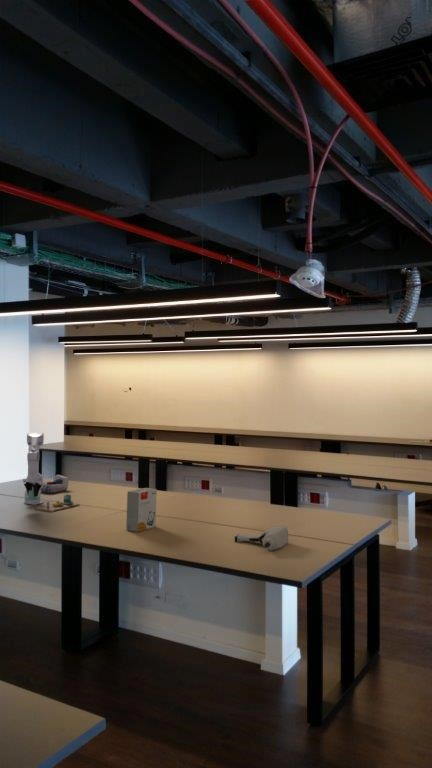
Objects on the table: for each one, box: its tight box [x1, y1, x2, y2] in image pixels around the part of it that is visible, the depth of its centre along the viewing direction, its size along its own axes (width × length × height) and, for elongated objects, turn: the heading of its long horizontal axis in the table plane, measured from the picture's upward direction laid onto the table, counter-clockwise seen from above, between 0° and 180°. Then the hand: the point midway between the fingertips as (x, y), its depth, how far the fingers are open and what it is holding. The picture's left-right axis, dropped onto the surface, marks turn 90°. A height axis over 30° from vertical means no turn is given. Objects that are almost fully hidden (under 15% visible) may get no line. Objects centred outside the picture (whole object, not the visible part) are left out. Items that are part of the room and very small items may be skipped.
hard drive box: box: [125, 487, 157, 533], centre depth 298 cm, size 16×8×20 cm, turn 148°
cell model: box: [41, 474, 70, 494], centre depth 397 cm, size 13×11×20 cm
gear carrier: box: [35, 493, 80, 513], centre depth 345 cm, size 23×13×7 cm, turn 150°
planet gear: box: [26, 490, 40, 501], centre depth 332 cm, size 8×8×5 cm
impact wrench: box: [234, 526, 289, 552], centre depth 268 cm, size 8×23×25 cm
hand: (32, 495), depth 332 cm, fingers closed on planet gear, 4 cm apart
